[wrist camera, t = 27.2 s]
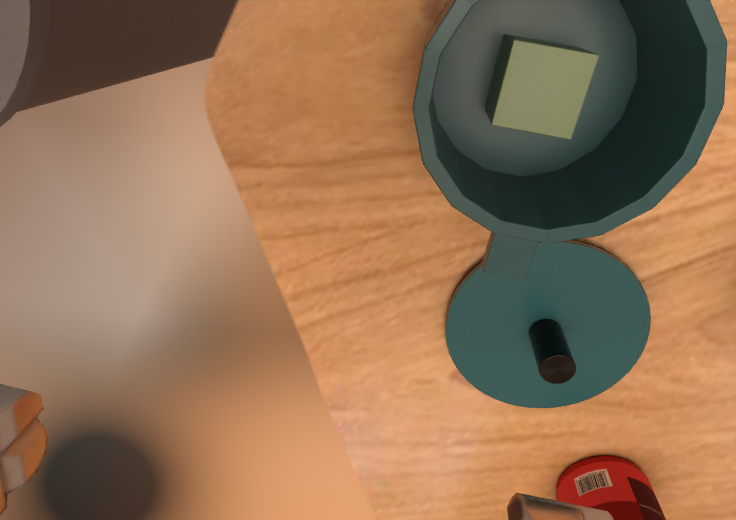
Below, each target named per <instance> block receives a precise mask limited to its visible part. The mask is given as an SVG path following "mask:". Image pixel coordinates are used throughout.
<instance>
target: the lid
mask: <svg viewBox="0 0 736 520" xmlns="http://www.w3.org/2000/svg"><path fill="white" fill-rule="evenodd" d="M650 321H651V316H650V307H649V303H648V299H647V296H646V294H645V291H644V289H643V287H642V285H641V284H640V282H639V281H638V279H637V278H636V276H635V275H634V274H633V272H632V271H631V270H630V269H629V268H628V267H627V266H626V265H625V264H624V263H623V262H621V261H620V260H619V259H617V258H616V257H615V256H613V255H612V254H610V253H608V252H606V251H605V250H603V249H600V248H598V247H595V246H593V245H590V244H586V243H582V242H578V241H572V240H567V241H561V242H554V243H548V244H546V243H540V242H539V243H538V246H537V249H536V251H535V254H534V257H533V260H532V263H531V266H530V269H529V272H528V274H527V277H526V280H525V281H521V280H516V279H511V278H506V277H501V276H496V275H491V274H486V273H483V270H482V262H481V263H480V264H479V265H478V266H476V267H475V268H474V269H473V270H472V271H471V272H470V273H469V274H468V275H467V276H466V277H465V278H464V280H463V281H462V282H461V284H460V285H459V286H458V288H457V290H456V291H455V293H454V295H453V297H452V299H451V302H450V305H449V307H448V311H447V317H446V341H447V346H448V349H449V353H450V355H451V358H452V360H453V362H454V364H455V365H456V367H457V368H458V370H459V372H460V373H461V374H462V375H463V376H464V377H465V378H466V380H467V381H468V382H470V383H471V384H472V385H473V386H474V387H475V388H477V389H478V390H480V391H481V392H483V393H484V394H486V395H488V396H490V397H492V398H494V399H497V400H499V401H502V402H505V403H508V404H512V405H516V406H522V407H528V408H554V407H561V406H567V405H571V404H575V403H579V402H581V401H584V400H587V399H590V398H592V397H594V396H596V395H598V394H600V393H602V392H604V391H605V390H607V389H609V388H610V387H612V386H613V385H614V384H616V383H617V382H618V381H619V380H621V379H622V378H623V377H624V376H625V375H626V374H627V373H628V372H629V371H630V370H631V368H632V367H633V366H634V365H635V363H636V362H637V361H638V359H639V357H640V356H641V354H642V352H643V350H644V348H645V345H646V343H647V340H648V335H649V331H650Z"/></svg>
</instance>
